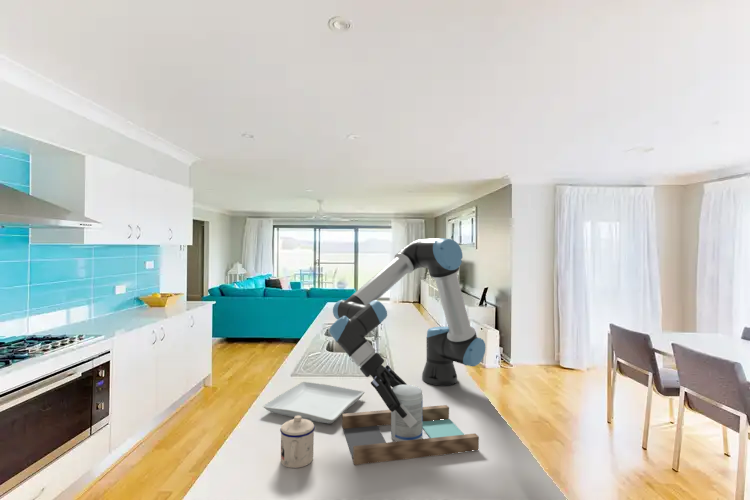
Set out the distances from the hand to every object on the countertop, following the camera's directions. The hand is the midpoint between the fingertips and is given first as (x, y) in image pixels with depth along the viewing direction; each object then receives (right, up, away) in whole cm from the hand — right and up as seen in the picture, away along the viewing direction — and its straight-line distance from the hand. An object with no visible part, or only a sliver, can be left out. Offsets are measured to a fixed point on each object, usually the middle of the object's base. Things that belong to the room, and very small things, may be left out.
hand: (416, 417), depth 116 cm
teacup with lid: (-34, -6, -13) cm, 37 cm away
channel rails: (-3, -7, +1) cm, 7 cm away
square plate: (-34, -7, +22) cm, 41 cm away
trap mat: (-15, -6, -2) cm, 17 cm away
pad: (+9, -7, +4) cm, 12 cm away
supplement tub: (-3, -7, +1) cm, 8 cm away
